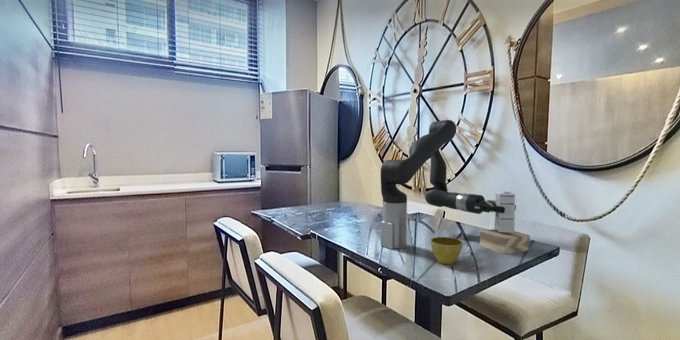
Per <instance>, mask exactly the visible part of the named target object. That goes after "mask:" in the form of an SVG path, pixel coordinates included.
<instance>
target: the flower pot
mask: <svg viewBox="0 0 680 340" xmlns="http://www.w3.org/2000/svg"><path fill="white" fill-rule="evenodd" d="M430 246H431V249H432V253H433V254H434V258H435V259H436V261H437V262H438V263H440V264H442V265H454V264H455V262H456V261H457V260H458V258H459V256H460V254H461V251H462V247H463V241H462V240H461V239H458V238H454V237H447V236H438V237H432V238H430Z"/></svg>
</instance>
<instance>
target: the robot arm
mask: <svg viewBox="0 0 680 340" xmlns="http://www.w3.org/2000/svg"><path fill="white" fill-rule="evenodd" d="M428 128H429V129H428V133H427V134H425V135H422V136H421V137H419V138H417V139H416V140H414V142H413V143H411V145H410V147H409V150H408V155H409V156H408V157H407V158H404V159H386V160H385V161H383V162H382V164H381V166H380V191H381V192H380V193H381V195H382V196H381V197H382V221H380V247H384V248H387V249H391V250H393V249H404V248H406V247H407V245H408V244H407V241H408V239H407V237H408V235H407V233H408V232H407V229H408V228H407V225H408V224H407V222H408V213H407V212H408V196H407V194H406V193H405V192H403V191H401V190H400V189H399V188H398V186H397V185H406V184H408V183H409V182H410V181H411V180H412V179H413V178H414V176H415V175H416V174H417V172H418V171H419V169H420V168H422V167H423V165H424V164H425V163H426V162H427V161H429V159H430V172H429V183H430V184H431V186H433V189H430V190H429V189H428V191H427V192H425V195H424V199H425V201H426V203H428V204H429V205H430V206H434V207H439V208H442V207H446V208H449V209H451V210H458V211H462V212H466V213H471V214H478V215H479V214H482V213H483V212H484V213H488V214H489V213H495V212H498V213H505V207H500V206H496V200H492V199H487V200H486V199H485V197H484V196H483V195H481V194H474V193H466V192H465V193H464V192H463V193H461V192H450V191H448V186H447V171H448V169H447V164H446V161H445V159H444V157H443V155H442V153H441V152H440V149H441V148H442V147H444V145H446V144H447V143H449V142H450V141H451V140H453V139H454V138H455V136H456V133H457V124H456V123H455V122H454V121H453V120H451V119H442V120H438V121H437V120H436V121H432V122H431V123H430V125H429V127H428ZM516 208H517V206H516V204H515V211H516V210H517V209H516Z"/></svg>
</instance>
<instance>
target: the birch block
mask: <svg viewBox="0 0 680 340" xmlns="http://www.w3.org/2000/svg"><path fill="white" fill-rule="evenodd" d="M530 239H531V235H529V234H526V233H523V232H519V231H515V230H514V233H513V232H499V231H497V230H496V229H495V228H494V229H485V230H480V231H479V246H480V247H483V248H486V249H489V250H491V251H495V252H497V253H500V254H503V255H509V254H515V253H522V251H523V252H528V251H527V250H529V251H530V241H531V240H530Z"/></svg>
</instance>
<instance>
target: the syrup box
mask: <svg viewBox="0 0 680 340" xmlns="http://www.w3.org/2000/svg"><path fill="white" fill-rule="evenodd" d="M495 201H496V206H500V207H505V213H498V212H494V213H495V214H494V215H495V216H494V229H496V230H497V231H499V232H513V233H514V231H515V223H516V222H515V218H516V214H515V213H516V210H515V205H516V193H513V192H512V191H496V192H495Z"/></svg>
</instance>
